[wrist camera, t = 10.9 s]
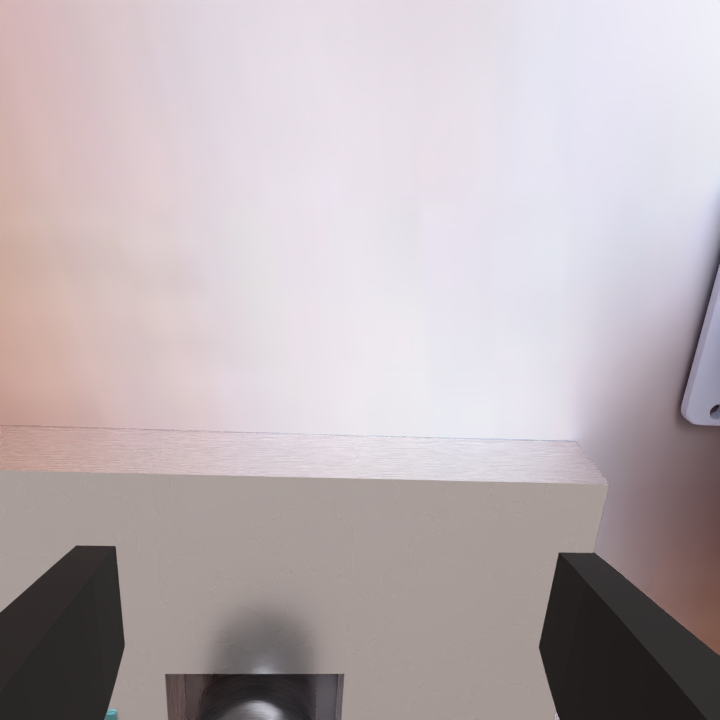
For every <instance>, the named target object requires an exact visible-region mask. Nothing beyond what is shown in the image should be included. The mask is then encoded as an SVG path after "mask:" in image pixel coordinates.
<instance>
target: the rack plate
mask: <svg viewBox="0 0 720 720" xmlns="http://www.w3.org/2000/svg"><path fill="white" fill-rule="evenodd" d="M608 488H609V483H608V482H607V481H606V479H605V478H604V477H603V475H602V474H601V473H600V471H599V470H598V469H597V468H596V466H595V465H594V464H593V462H592V461H591V460H590V459H589V457H588V456H587V455H586V453H585V452H584V451H583V449H582V448H581V447H580V446H579V444H578V443H577V442H563V441H527V440H492V439H456V438H420V437H384V436H349V435H313V434H277V433H242V432H206V431H170V430H135V429H99V428H63V427H28V426H0V612H1V611H2V610H4V609H5V608H6V607H7V606H8V605H9V604H10V603H11V602H13V601H14V600H15V599H16V598H17V597H18V596H19V595H20V594H22V593H23V592H24V591H25V590H26V589H27V588H28V587H29V586H31V585H32V584H33V583H34V582H35V581H36V580H37V579H38V578H40V577H41V576H42V575H43V574H44V573H45V572H46V571H47V570H49V569H50V568H51V567H52V566H53V565H54V564H55V563H56V562H58V561H59V560H60V559H61V558H62V557H63V556H65V555H66V554H67V553H68V552H69V551H70V550H72V549H73V548H74V547H75V546H76V545H81V546H116V555H117V565H118V576H119V587H120V597H121V608H122V619H123V630H124V640H125V648H124V652H123V656H122V659H121V663H120V667H119V671H118V675H117V679H116V682H115V686H114V690H113V693H112V697H111V700H110V704H109V707H108V711H107V714H106V716H105V719H104V720H187V716H186V696H185V676H184V674H338V685H337V701H336V716H335V720H554V716H555V712H556V708H555V705H554V701H553V698H552V695H551V691H550V688H549V684H548V681H547V677H546V673H545V669H544V666H543V662H542V658H541V654H540V650H539V643H540V638H541V634H542V629H543V624H544V620H545V615H546V610H547V605H548V601H549V596H550V591H551V587H552V582H553V577H554V573H555V568H556V563H557V558H558V554H559V552H565V553H593V551H594V547H595V543H596V539H597V534H598V530H599V526H600V522H601V518H602V513H603V509H604V505H605V501H606V496H607V492H608Z"/></svg>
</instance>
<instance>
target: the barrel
mask: <svg viewBox="0 0 720 720" xmlns="http://www.w3.org/2000/svg"><path fill="white" fill-rule="evenodd" d="M196 720H316V674H205V677H204V682H203V686H202V691H201V696H200V701H199V706H198V711H197V716H196Z"/></svg>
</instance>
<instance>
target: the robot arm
mask: <svg viewBox="0 0 720 720" xmlns="http://www.w3.org/2000/svg"><path fill="white" fill-rule="evenodd" d="M718 404H719V407H718V409H717V411H715V412H714V413H711V414H710V411H711V409H712V408H713V407H714V406H715V405H718ZM681 413H682V415H683V417H684V418H686V419H687V420H688V421H689V422H690V423H692V424H695V425H709V426H720V265H719V268H718V272H717V276H716V279H715V283H714V287H713V291H712V294H711V298H710V302H709V305H708V309H707V313H706V316H705V320H704V324H703V328H702V331H701V335H700V339H699V342H698V346H697V350H696V353H695V357H694V361H693V365H692V368H691V372H690V376H689V379H688V383H687V387H686V390H685V394H684V398H683V402H682V405H681ZM124 648H125V640H124V630H123V619H122V608H121V597H120V587H119V576H118V565H117V555H116V546H81V545H76V546H75V547H74V548H73V549H72V550H70V551H69V552H68V553H67V554H66V555H65V556H63V557H62V558H61V559H60V560H59V561H58V562H56V563H55V564H54V565H53V566H52V567H51V568H50V569H49V570H47V571H46V572H45V573H44V574H43V575H42V576H41V577H40V578H38V579H37V580H36V581H35V582H34V583H33V584H32V585H31V586H29V587H28V588H27V589H26V590H25V591H24V592H23V593H22V594H20V595H19V596H18V597H17V598H16V599H15V600H14V601H13V602H11V603H10V604H9V605H8V606H7V607H6V608H5V609H4V610H2V611H1V612H0V720H104V719H105V716H106V714H107V711H108V707H109V704H110V700H111V697H112V693H113V690H114V686H115V682H116V679H117V675H118V671H119V667H120V663H121V659H122V656H123V652H124ZM539 650H540V654H541V658H542V662H543V666H544V669H545V673H546V677H547V681H548V684H549V688H550V691H551V695H552V698H553V701H554V705H555V708H556V711H557V714H558V716H559V719H560V720H720V656H719V655H718V654H717V653H715V652H714V651H713V650H712V649H710V648H709V647H708V646H707V645H705V644H704V643H703V642H702V641H700V640H699V639H698V638H697V637H695V636H694V635H693V634H692V633H691V632H689V631H688V630H687V629H686V628H684V627H683V626H682V625H681V624H680V623H678V622H677V621H676V620H675V619H674V618H672V617H671V616H670V615H669V614H668V613H666V612H665V611H664V610H663V609H662V608H660V607H659V606H658V605H657V604H656V603H655V602H653V601H652V600H651V599H650V598H649V597H647V596H646V595H645V594H644V593H643V592H642V591H640V590H639V589H638V588H637V587H636V586H634V585H633V584H632V583H631V582H630V581H628V580H627V579H626V578H625V577H624V576H623V575H621V574H620V573H619V572H618V571H617V570H615V569H614V568H613V567H612V566H610V565H609V564H608V563H607V562H605V561H604V560H603V559H602V558H600V557H599V556H598V555H596V554H595V553H565V552H559V554H558V558H557V563H556V568H555V573H554V577H553V582H552V587H551V591H550V596H549V601H548V605H547V610H546V615H545V620H544V624H543V629H542V634H541V638H540V643H539Z"/></svg>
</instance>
